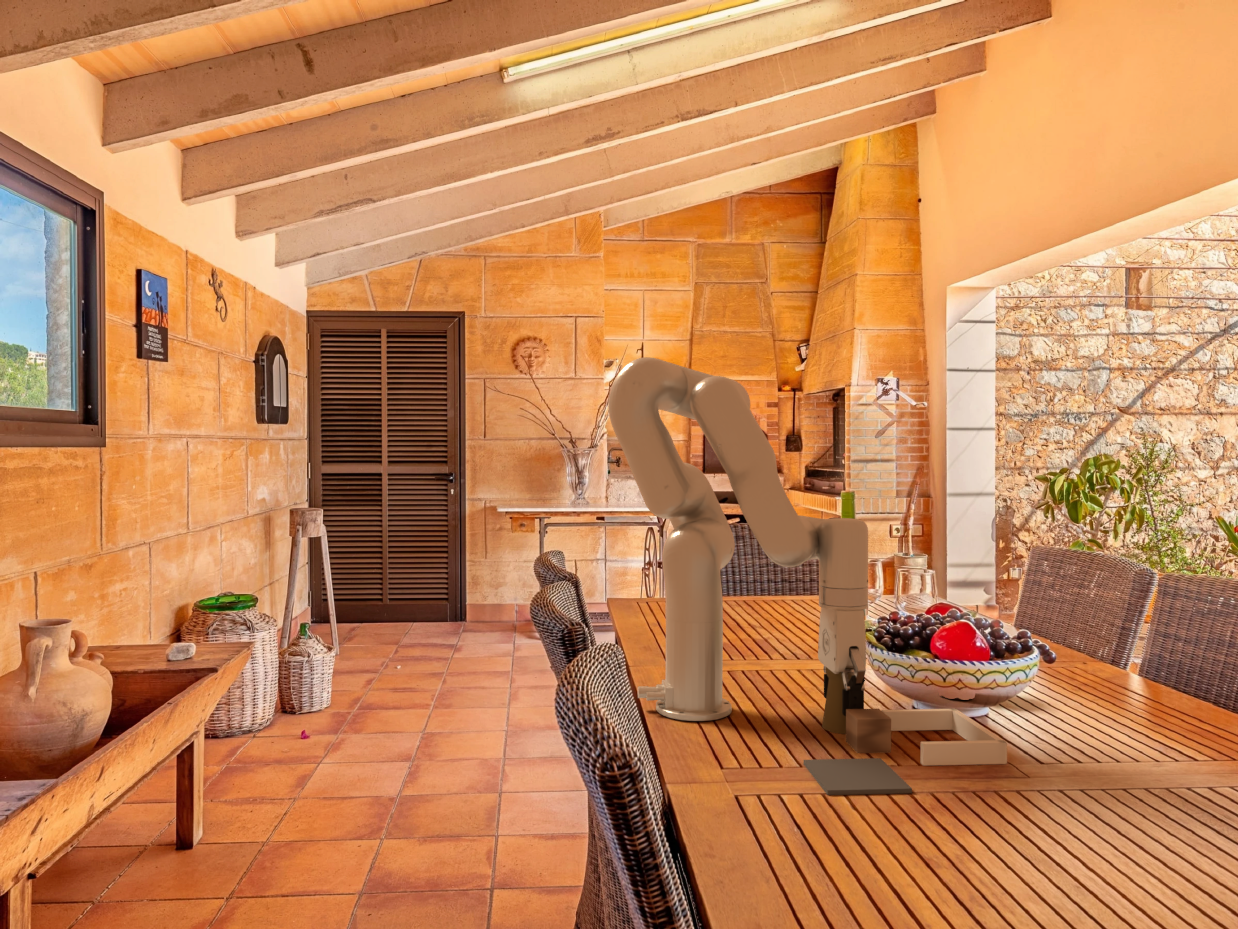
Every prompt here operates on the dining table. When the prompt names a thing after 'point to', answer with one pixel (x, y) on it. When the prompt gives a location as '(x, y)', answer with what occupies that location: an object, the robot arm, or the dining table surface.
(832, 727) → the cork
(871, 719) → the walnut block
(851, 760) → the mat
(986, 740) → the tray
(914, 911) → the dining table surface
